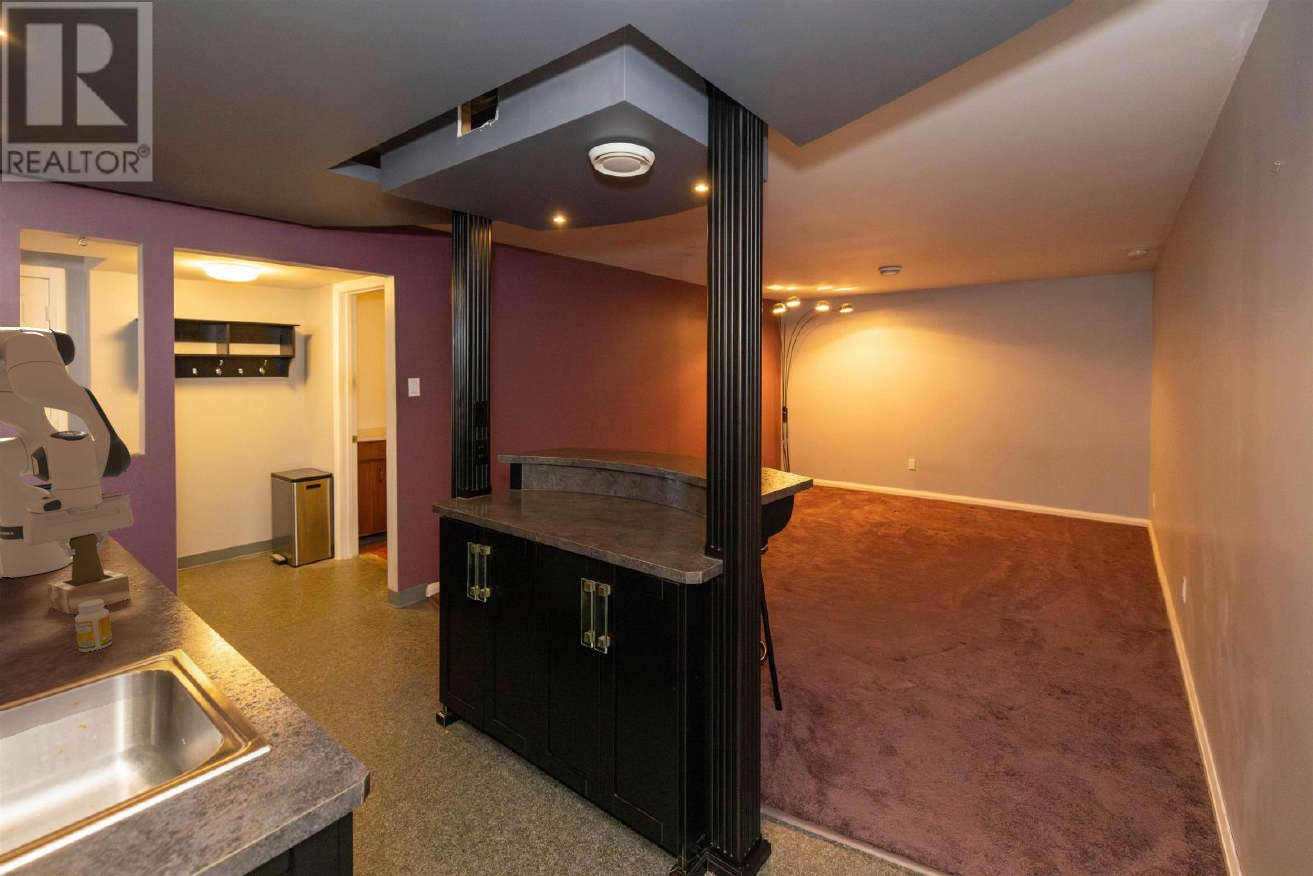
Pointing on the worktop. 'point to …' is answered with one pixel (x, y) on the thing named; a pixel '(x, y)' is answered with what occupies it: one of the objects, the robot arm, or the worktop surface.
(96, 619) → the supplement bottle
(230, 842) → the worktop surface
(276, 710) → the worktop surface
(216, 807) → the worktop surface
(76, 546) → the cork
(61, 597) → the shaker holder
